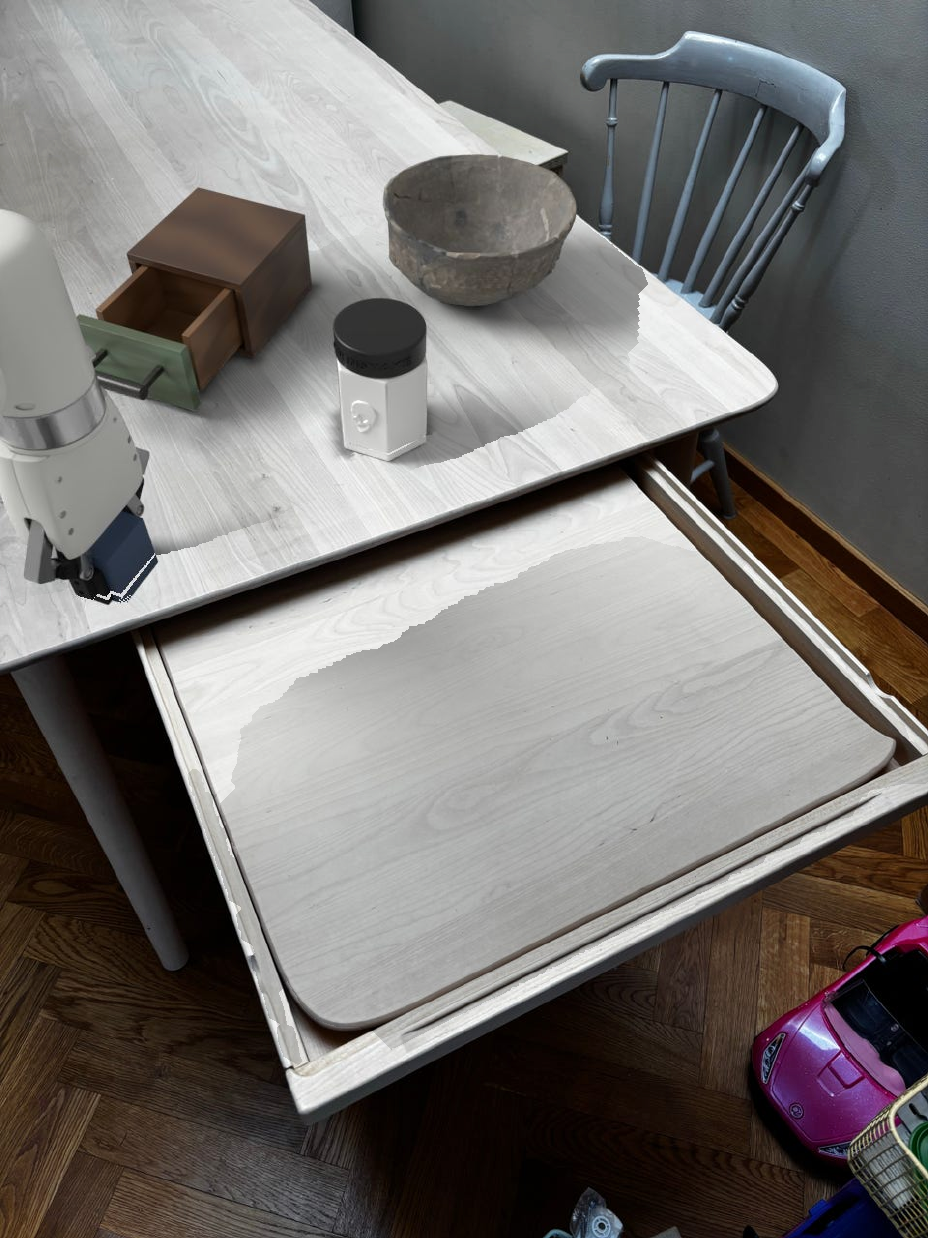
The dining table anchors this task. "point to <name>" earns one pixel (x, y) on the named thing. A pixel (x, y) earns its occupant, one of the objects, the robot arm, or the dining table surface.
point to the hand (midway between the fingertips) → (115, 570)
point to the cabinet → (235, 256)
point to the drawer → (163, 336)
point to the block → (124, 554)
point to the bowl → (477, 226)
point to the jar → (381, 376)
